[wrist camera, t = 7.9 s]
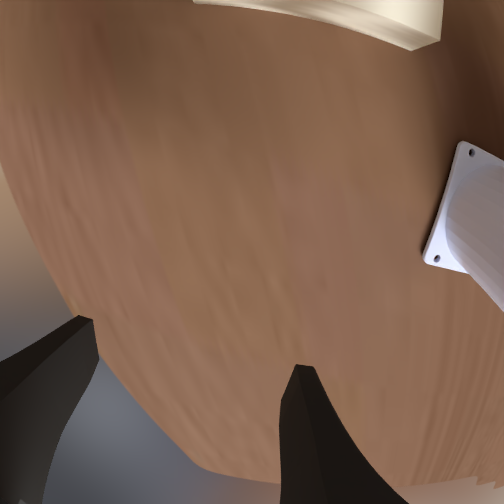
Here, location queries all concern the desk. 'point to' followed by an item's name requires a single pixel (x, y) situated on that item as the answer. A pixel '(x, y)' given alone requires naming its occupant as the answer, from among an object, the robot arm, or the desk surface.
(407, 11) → the birch block
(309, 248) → the desk surface
